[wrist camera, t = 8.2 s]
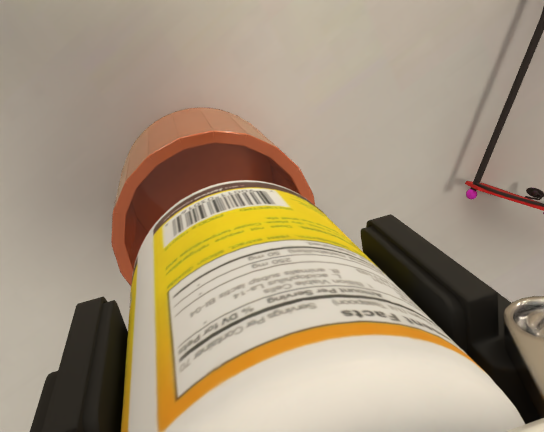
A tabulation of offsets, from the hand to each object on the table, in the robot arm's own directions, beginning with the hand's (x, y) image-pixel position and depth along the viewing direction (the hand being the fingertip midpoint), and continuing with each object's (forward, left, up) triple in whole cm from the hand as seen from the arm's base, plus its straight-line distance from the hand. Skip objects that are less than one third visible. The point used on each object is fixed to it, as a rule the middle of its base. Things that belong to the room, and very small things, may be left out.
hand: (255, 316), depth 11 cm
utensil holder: (+3, -2, -22) cm, 22 cm away
